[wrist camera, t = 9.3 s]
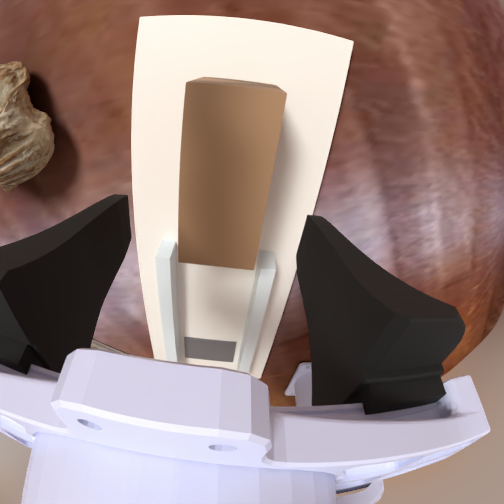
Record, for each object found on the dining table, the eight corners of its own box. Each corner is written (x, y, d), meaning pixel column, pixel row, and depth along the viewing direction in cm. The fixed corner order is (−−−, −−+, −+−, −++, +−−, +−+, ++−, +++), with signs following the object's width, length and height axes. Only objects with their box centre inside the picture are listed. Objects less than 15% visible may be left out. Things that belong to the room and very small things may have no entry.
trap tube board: (349, 42, 13) (366, 39, 11) (260, 372, 33) (260, 393, 30) (144, 18, 12) (126, 13, 10) (157, 362, 31) (153, 382, 29)
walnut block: (275, 85, 14) (287, 93, 10) (252, 221, 20) (253, 270, 16) (203, 76, 14) (186, 82, 10) (192, 215, 19) (178, 262, 15)
